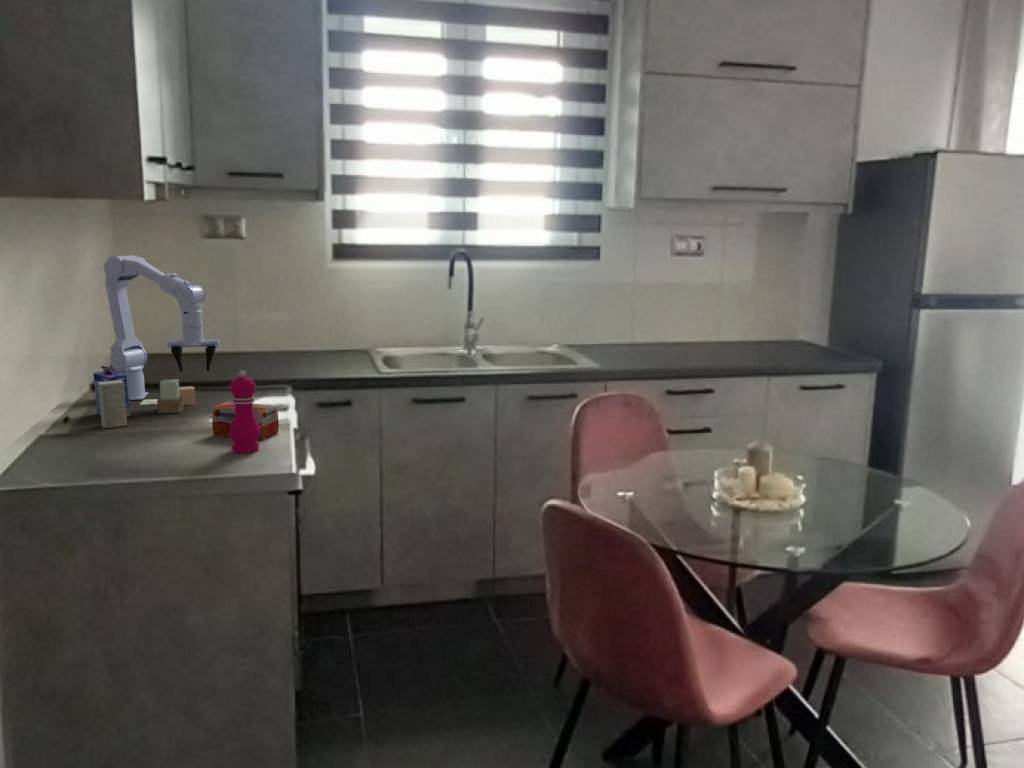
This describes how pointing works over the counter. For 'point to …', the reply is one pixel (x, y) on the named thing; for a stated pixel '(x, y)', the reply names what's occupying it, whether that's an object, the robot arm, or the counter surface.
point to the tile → (149, 402)
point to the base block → (171, 405)
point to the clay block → (188, 395)
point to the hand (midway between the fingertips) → (194, 371)
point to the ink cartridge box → (111, 376)
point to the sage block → (169, 389)
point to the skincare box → (112, 403)
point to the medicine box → (262, 414)
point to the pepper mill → (244, 415)
